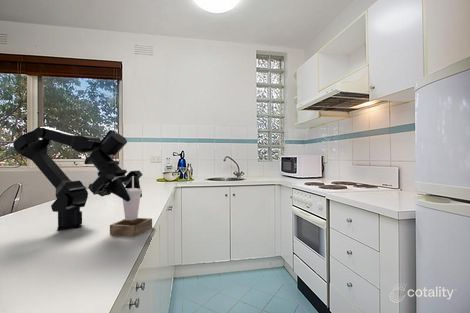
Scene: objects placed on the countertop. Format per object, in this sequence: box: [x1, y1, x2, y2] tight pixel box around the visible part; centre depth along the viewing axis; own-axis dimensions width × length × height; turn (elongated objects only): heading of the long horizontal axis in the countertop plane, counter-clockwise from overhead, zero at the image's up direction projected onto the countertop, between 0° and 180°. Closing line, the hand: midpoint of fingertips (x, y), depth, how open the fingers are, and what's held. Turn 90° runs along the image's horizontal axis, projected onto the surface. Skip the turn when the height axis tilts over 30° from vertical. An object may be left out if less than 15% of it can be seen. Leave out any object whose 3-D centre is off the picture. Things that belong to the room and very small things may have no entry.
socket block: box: [109, 217, 153, 237], centre depth 77 cm, size 9×9×3 cm
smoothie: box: [122, 176, 143, 220], centre depth 77 cm, size 6×6×14 cm
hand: (135, 198), depth 77 cm, fingers closed on smoothie, 6 cm apart
